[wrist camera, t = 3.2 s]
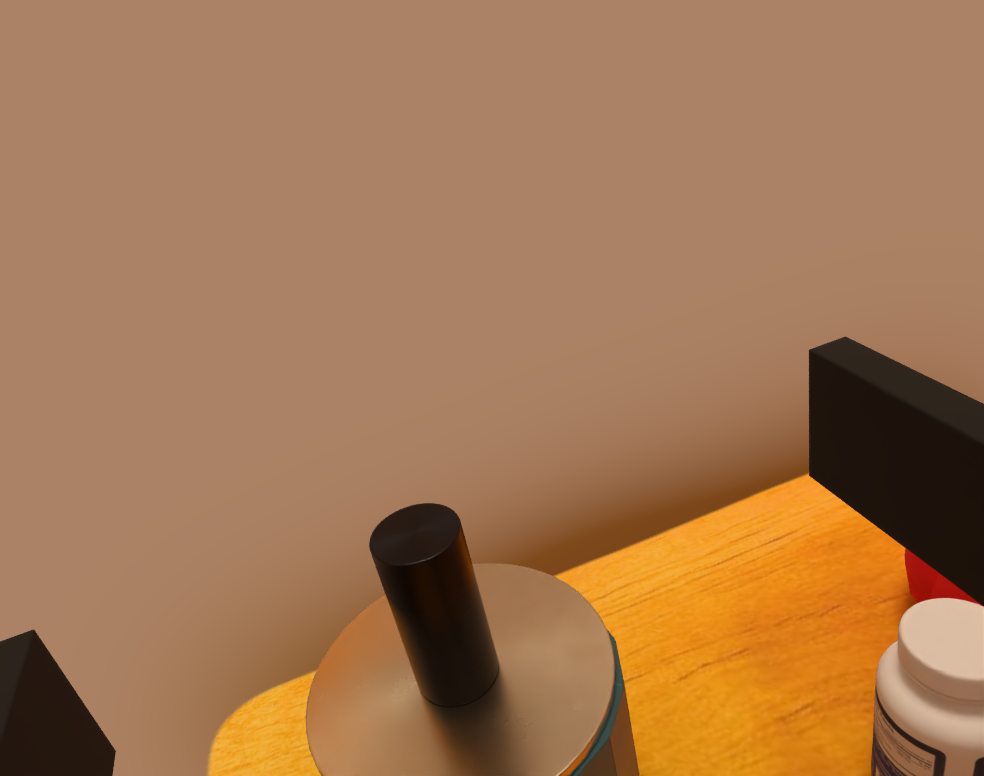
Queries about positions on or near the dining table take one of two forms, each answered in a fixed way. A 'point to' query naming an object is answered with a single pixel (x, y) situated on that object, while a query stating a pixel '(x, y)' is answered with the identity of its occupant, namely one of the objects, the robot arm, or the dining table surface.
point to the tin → (613, 737)
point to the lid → (460, 665)
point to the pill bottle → (932, 693)
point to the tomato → (930, 582)
